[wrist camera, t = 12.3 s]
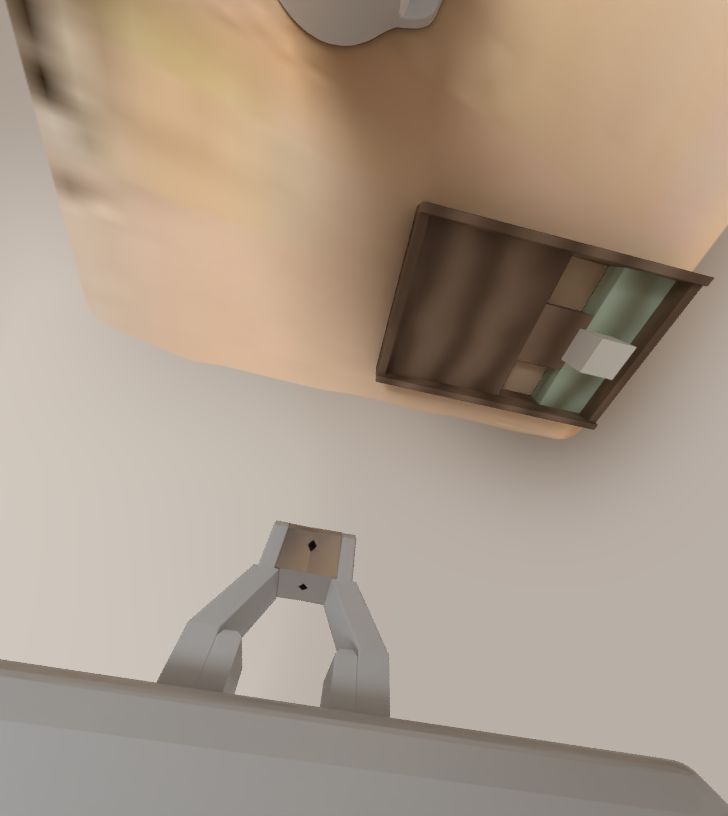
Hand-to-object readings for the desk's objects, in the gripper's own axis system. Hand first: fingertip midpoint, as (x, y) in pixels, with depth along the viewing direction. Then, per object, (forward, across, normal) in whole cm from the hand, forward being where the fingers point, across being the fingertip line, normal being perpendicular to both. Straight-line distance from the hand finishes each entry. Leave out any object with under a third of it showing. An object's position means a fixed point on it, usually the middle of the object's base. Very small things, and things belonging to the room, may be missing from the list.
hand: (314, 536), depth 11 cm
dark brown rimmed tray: (+31, -18, -4) cm, 36 cm away
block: (+29, -27, -4) cm, 40 cm away
